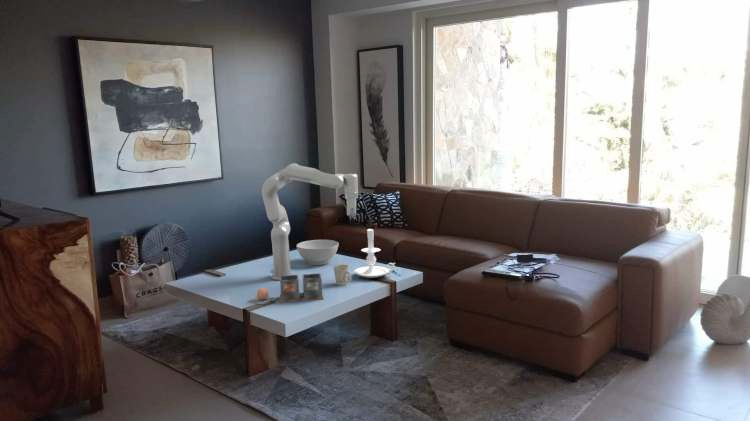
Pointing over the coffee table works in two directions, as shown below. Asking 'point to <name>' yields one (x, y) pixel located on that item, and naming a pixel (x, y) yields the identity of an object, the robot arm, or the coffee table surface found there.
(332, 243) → the decorative bowl
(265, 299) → the mat
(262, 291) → the ball
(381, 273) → the candlestick
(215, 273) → the coffee table surface
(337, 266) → the mug
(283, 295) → the dark grey boxy container
